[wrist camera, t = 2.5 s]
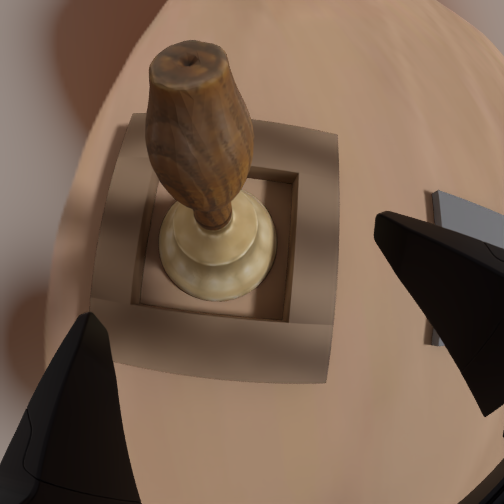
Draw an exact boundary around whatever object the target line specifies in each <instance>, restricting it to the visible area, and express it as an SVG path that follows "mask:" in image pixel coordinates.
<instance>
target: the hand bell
mask: <svg viewBox="0 0 504 504" xmlns="http://www.w3.org/2000/svg"><path fill="white" fill-rule="evenodd" d="M149 83H150V90H149V102H148V108H147V113H146V120H145V141H146V147H147V152H148V156H149V160H150V163H151V166H152V168H153V170H154V172H155V173H156V175H157V177H158V179H159V180H160V182H161V184H162V185H163V186H164V187H165V189H166V190H167V191H168V192H169V194H170V195H171V196H172V197H173V198H174V199H176V200H177V201H176V202H175V203H174V204H173V205H172V207H171V208H170V209H169V211H168V212H167V214H166V216H165V218H164V220H163V222H162V225H161V228H160V233H159V240H158V244H159V254H160V258H161V262H162V264H163V267H164V269H165V271H166V273H167V274H168V276H169V277H170V278H171V280H172V281H173V282H174V283H175V284H176V285H177V286H178V287H179V288H180V289H181V290H183V291H184V292H186V293H188V294H189V295H191V296H194V297H196V298H199V299H202V300H206V301H220V302H221V301H228V300H232V299H236V298H239V297H241V296H243V295H245V294H247V293H249V292H250V291H252V290H253V289H255V288H256V287H257V286H258V285H259V284H260V283H261V282H262V281H263V280H264V279H265V277H266V276H267V274H268V273H269V271H270V269H271V267H272V265H273V262H274V259H275V255H276V250H277V235H276V229H275V226H274V223H273V220H272V218H271V216H270V214H269V212H268V211H267V209H266V208H265V207H264V206H263V204H262V203H261V202H260V201H259V200H258V199H257V198H255V197H254V196H253V195H251V194H250V193H248V192H246V191H244V190H242V189H241V188H242V187H243V185H244V183H245V181H246V178H247V176H248V173H249V170H250V167H251V163H252V158H253V148H254V133H253V125H252V121H251V118H250V115H249V112H248V109H247V107H246V104H245V102H244V100H243V98H242V96H241V94H240V92H239V90H238V88H237V86H236V84H235V81H234V78H233V75H232V73H231V70H230V66H229V62H228V58H227V54H226V53H225V51H224V50H223V49H222V48H221V47H220V46H217V45H215V44H212V43H205V42H200V41H196V40H189V41H183V42H180V43H177V44H174V45H171V46H169V47H167V48H166V49H164V50H163V51H162V52H160V53H159V54H158V55H157V56H156V57H155V58H154V60H153V61H152V63H151V64H150V67H149Z"/></svg>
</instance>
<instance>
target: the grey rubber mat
mask: <svg viewBox="0 0 504 504" xmlns="http://www.w3.org/2000/svg"><path fill="white" fill-rule="evenodd" d="M432 198H433V208H434V219H435V225H438V226H441V227H444V228H447V229H450V230H453V231H456V232H459V233H462V234H465V235H467V236H470V237H473V238H476V239H479V240H481V241H483V242H487V243H490V244H492V245H495V246H498V247H500V248H503V249H504V215H501V214H499V213H497V212H494V211H492V210H490V209H487V208H485V207H482V206H480V205H477V204H475V203H472V202H470V201H467V200H465V199H462V198H459V197H456V196H454V195H451V194H448V193H445V192H442V191H439V190H437V191H436V192H434V193H432ZM431 345H434V346H445V345H444V343H443V342H442V340H441V339H440V337H439V336H438V334H437V332H436V331H435V329H434V328H433V336H432V344H431Z"/></svg>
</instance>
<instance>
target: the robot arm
mask: <svg viewBox="0 0 504 504" xmlns="http://www.w3.org/2000/svg"><path fill="white" fill-rule="evenodd" d="M374 239H375V242H376V244H377V245H378V247H379V248H380V250H381V251H382V253H383V254H384V256H385V258H386V259H387V261H388V262H389V264H390V265H391V267H392V269H393V270H394V272H395V273H396V275H397V277H398V278H399V279H400V281H401V282H402V284H403V285H404V286H405V288H406V289H407V290H408V292H409V293H410V295H411V296H412V297H413V299H414V300H415V302H416V303H417V304H418V306H419V307H420V309H421V310H422V312H423V313H424V314H425V316H426V317H427V319H428V320H429V322H430V323H431V325H432V326H433V328H434V329H435V331H436V332H437V334H438V336H439V337H440V339H441V340H442V342H443V343H444V345H445V347H446V348H447V350H448V352H449V353H450V355H451V356H452V358H453V360H454V362H455V363H456V365H457V367H458V368H459V370H460V372H461V374H462V376H463V377H464V379H465V381H466V383H467V385H468V387H469V388H470V390H471V392H472V394H473V396H474V398H475V400H476V402H477V404H478V406H479V408H480V410H481V412H482V414H483V416H484V417H486V416H488V415H489V414H491V413H492V412H494V411H495V410H497V409H498V408H499V407H501V406H502V405H503V404H504V249H503V248H500V247H498V246H495V245H492V244H490V243H487V242H483V241H481V240H479V239H476V238H473V237H470V236H467V235H465V234H462V233H459V232H456V231H453V230H450V229H447V228H444V227H441V226H438V225H435V224H431V223H428V222H425V221H422V220H418V219H415V218H412V217H408V216H405V215H401V214H398V213H394V212H391V211H384V212H381V213H379V214H377V216H376V218H375V228H374ZM503 437H504V432H503ZM0 504H142V503H141V500H140V497H139V493H138V490H137V487H136V483H135V479H134V476H133V472H132V468H131V463H130V459H129V455H128V450H127V445H126V440H125V435H124V430H123V424H122V418H121V411H120V404H119V396H118V388H117V380H116V374H115V369H114V364H113V358H112V353H111V347H110V340H109V334H108V332H107V329H106V328H105V327H104V325H103V324H102V323H101V322H100V320H99V319H98V318H97V317H96V315H95V314H94V313H92V312H87V313H83V314H81V315H79V317H78V318H77V320H76V321H75V323H74V324H73V326H72V327H71V329H70V330H69V332H68V334H67V335H66V337H65V339H64V340H63V342H62V343H61V345H60V347H59V348H58V350H57V352H56V353H55V355H54V357H53V359H52V360H51V362H50V364H49V366H48V367H47V369H46V371H45V373H44V375H43V377H42V378H41V380H40V382H39V384H38V386H37V388H36V390H35V392H34V394H33V396H32V398H31V400H30V402H29V404H28V406H27V409H26V410H25V412H24V415H23V417H22V419H21V421H20V423H19V426H18V428H17V430H16V432H15V434H14V436H13V438H12V440H11V442H10V444H9V446H8V448H7V451H6V453H5V455H4V457H3V459H2V461H1V463H0ZM458 504H504V459H503V460H502V461H501V462H500V463H499V464H498V465H497V466H496V468H495V469H494V470H493V471H492V472H491V473H490V474H489V475H488V476H487V477H486V478H485V479H484V480H483V481H482V482H481V483H480V484H479V485H478V486H477V487H476V488H475V489H474V490H473V491H472V492H470V493H469V494H468V495H467V496H466V497H465V498H464V499H463V500H461V501H460V502H459V503H458Z"/></svg>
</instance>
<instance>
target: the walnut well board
mask: <svg viewBox="0 0 504 504" xmlns="http://www.w3.org/2000/svg"><path fill="white" fill-rule="evenodd" d="M145 120H146V113H133V114H132V117H131V120H130V122H129V125H128V128H127V131H126V134H125V137H124V140H123V143H122V146H121V149H120V152H119V155H118V159H117V162H116V165H115V169H114V172H113V176H112V180H111V183H110V187H109V191H108V195H107V199H106V204H105V208H104V213H103V217H102V222H101V227H100V232H99V238H98V243H97V249H96V256H95V263H94V270H93V278H92V286H91V296H90V308H89V312H92V313H94V314H95V315H96V317H97V318H98V319H99V320H100V322H101V323H102V324H103V325H104V327H105V328H106V329H107V332H108V334H109V340H110V347H111V353H112V358H113V362H116V363H121V364H125V365H130V366H134V367H139V368H144V369H149V370H155V371H160V372H166V373H172V374H179V375H185V376H193V377H200V378H209V379H218V380H229V381H241V382H257V383H282V384H319V383H326V380H327V373H328V366H329V359H330V351H331V343H332V334H333V325H334V314H335V303H336V290H337V274H338V255H339V217H340V191H339V154H338V135H337V134H332V133H328V132H323V131H319V130H314V129H309V128H304V127H298V126H293V125H287V124H281V123H275V122H268V121H261V120H253V119H251V121H252V125H253V133H254V148H253V158H252V163H251V167H250V170H249V173H248V176H247V178H254V179H262V180H270V181H277V182H284V183H291V184H293V185H292V204H291V220H290V236H289V250H288V263H287V275H286V287H285V298H284V309H283V320H272V319H260V318H248V317H237V316H227V315H218V314H209V313H201V312H193V311H185V310H177V309H170V308H163V307H156V306H150V305H144V304H140V294H141V285H142V276H143V268H144V261H145V254H146V247H147V241H148V234H149V229H150V223H151V217H152V212H153V207H154V202H155V197H156V192H157V187H158V183H159V179H158V177H157V175H156V173H155V172H154V170H153V168H152V166H151V163H150V160H149V156H148V152H147V147H146V141H145Z"/></svg>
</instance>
